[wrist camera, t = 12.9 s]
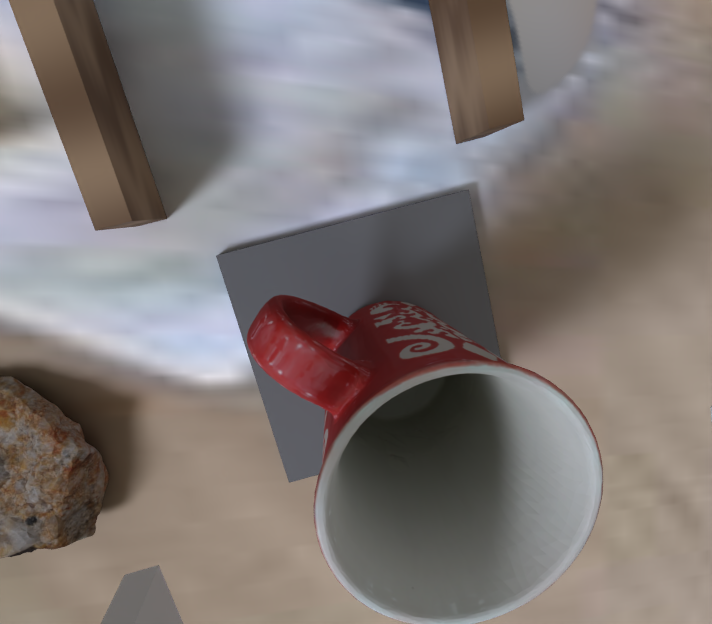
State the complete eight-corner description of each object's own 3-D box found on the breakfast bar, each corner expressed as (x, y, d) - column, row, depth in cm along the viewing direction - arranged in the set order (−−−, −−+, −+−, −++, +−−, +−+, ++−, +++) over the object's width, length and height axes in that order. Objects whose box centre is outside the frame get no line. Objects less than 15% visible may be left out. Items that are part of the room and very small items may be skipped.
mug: (500, 351, 28) (665, 483, 15) (396, 461, 29) (464, 676, 16) (336, 205, 25) (360, 206, 12) (229, 332, 26) (143, 459, 13)
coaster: (218, 254, 26) (216, 255, 25) (465, 190, 26) (468, 189, 26) (289, 477, 29) (289, 482, 28) (508, 416, 29) (512, 420, 29)
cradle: (57, -1, 23) (-13, -58, 18) (443, -94, 23) (477, -174, 18) (137, 226, 25) (95, 230, 20) (484, 136, 26) (524, 120, 21)
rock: (136, 507, 29) (80, 365, 25) (70, 600, 24) (-15, 439, 20) (13, 502, 30) (-58, 368, 26) (-74, 588, 25) (-181, 437, 21)
